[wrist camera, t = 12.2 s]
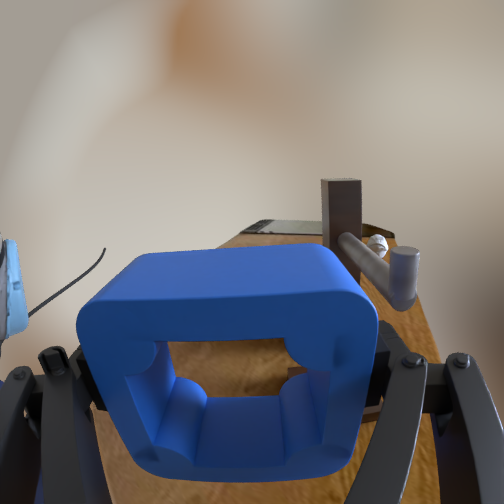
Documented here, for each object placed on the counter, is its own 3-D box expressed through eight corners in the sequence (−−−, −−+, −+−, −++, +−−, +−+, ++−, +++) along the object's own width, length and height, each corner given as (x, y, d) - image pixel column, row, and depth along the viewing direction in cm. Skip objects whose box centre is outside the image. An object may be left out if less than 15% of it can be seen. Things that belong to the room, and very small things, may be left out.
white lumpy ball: (365, 263, 77) (365, 237, 75) (366, 255, 83) (366, 230, 81) (387, 264, 75) (389, 238, 73) (387, 256, 81) (388, 231, 79)
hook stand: (407, 478, 20) (486, 199, 13) (302, 499, 20) (313, 201, 13) (360, 367, 38) (372, 176, 31) (287, 376, 38) (280, 178, 31)
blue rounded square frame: (347, 473, 11) (383, 284, 8) (142, 475, 12) (65, 299, 9) (330, 407, 16) (341, 240, 13) (162, 412, 16) (120, 254, 14)
